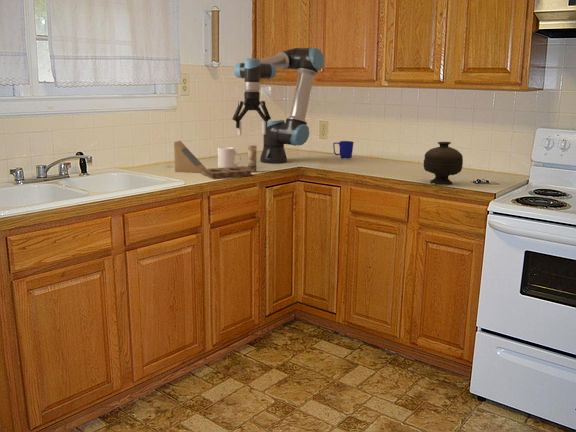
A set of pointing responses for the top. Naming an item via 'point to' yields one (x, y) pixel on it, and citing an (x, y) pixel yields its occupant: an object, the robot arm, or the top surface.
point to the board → (225, 172)
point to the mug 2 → (345, 149)
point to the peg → (252, 158)
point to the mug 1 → (227, 157)
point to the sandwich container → (186, 160)
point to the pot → (443, 162)
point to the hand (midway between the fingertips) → (251, 134)
